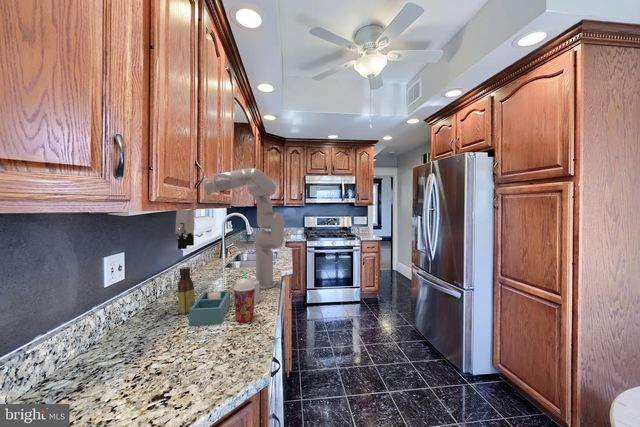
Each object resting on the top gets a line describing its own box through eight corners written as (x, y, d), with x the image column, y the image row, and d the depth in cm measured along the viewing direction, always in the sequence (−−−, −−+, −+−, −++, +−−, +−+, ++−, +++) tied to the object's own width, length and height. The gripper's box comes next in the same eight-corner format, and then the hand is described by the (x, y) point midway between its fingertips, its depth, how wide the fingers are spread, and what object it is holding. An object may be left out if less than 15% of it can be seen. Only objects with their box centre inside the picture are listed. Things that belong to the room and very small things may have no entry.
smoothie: (254, 315, 114) (254, 268, 113) (256, 324, 106) (256, 273, 105) (233, 318, 111) (233, 269, 111) (233, 327, 103) (233, 274, 103)
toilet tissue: (260, 306, 125) (260, 284, 125) (233, 309, 121) (233, 286, 121) (258, 298, 135) (258, 278, 135) (232, 301, 131) (232, 280, 131)
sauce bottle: (196, 310, 120) (195, 265, 119) (193, 316, 114) (193, 268, 113) (179, 311, 118) (179, 266, 117) (176, 317, 112) (175, 269, 111)
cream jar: (209, 307, 121) (209, 291, 121) (221, 306, 122) (221, 291, 121) (206, 311, 116) (206, 295, 115) (219, 311, 116) (219, 294, 116)
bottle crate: (204, 307, 123) (203, 292, 123) (230, 305, 125) (230, 290, 125) (189, 328, 102) (188, 310, 102) (220, 326, 104) (220, 308, 104)
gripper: (183, 206, 122) (183, 244, 123) (168, 206, 105) (168, 250, 106) (200, 206, 124) (201, 244, 124) (189, 206, 107) (189, 250, 107)
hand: (186, 247), depth 115 cm, fingers open, 9 cm apart
